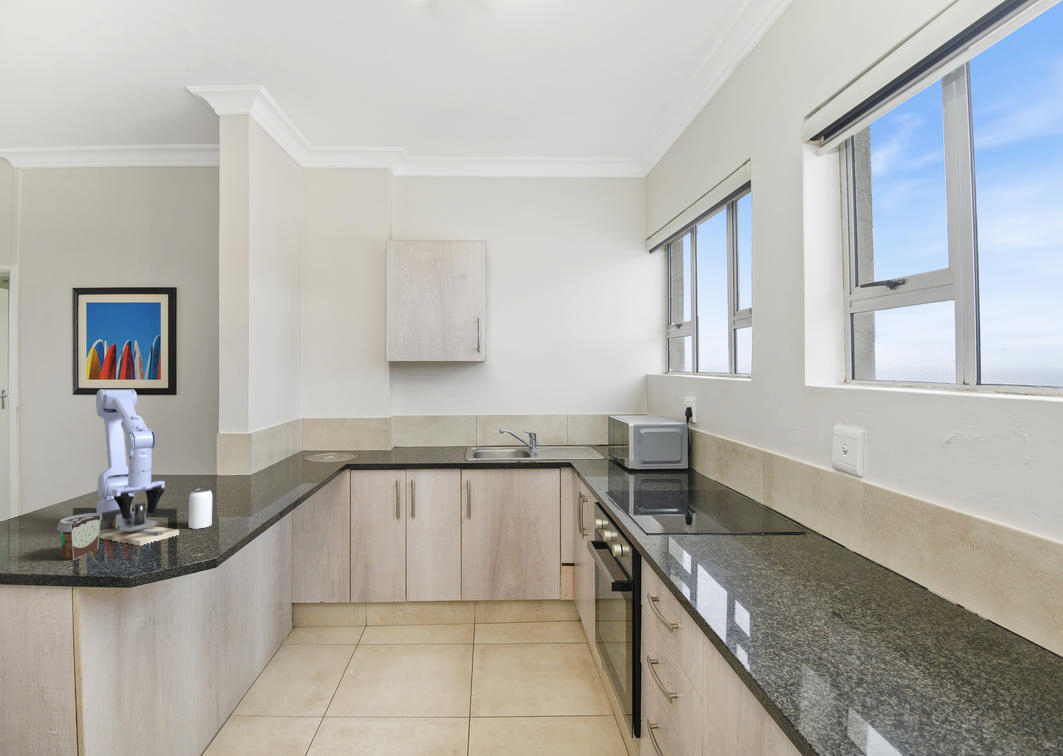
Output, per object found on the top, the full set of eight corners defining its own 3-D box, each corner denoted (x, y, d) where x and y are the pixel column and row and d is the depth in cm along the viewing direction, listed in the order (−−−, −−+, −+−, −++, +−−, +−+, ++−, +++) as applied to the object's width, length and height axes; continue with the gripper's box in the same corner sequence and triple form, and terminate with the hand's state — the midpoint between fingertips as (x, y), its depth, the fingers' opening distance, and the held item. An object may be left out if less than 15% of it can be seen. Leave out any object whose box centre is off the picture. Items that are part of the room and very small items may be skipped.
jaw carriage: (115, 529, 164) (116, 505, 164) (142, 522, 172) (142, 499, 172) (130, 531, 162) (131, 507, 162) (156, 524, 170) (157, 501, 170)
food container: (78, 547, 155) (79, 512, 155) (101, 547, 156) (102, 512, 156) (43, 562, 143) (44, 524, 143) (68, 562, 144) (69, 524, 144)
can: (200, 530, 175) (201, 492, 175) (183, 528, 176) (184, 491, 176) (216, 525, 181) (217, 488, 181) (199, 523, 182) (200, 487, 182)
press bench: (87, 536, 165) (88, 515, 165) (128, 527, 177) (128, 506, 177) (140, 545, 158) (140, 523, 158) (178, 534, 170) (179, 513, 170)
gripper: (124, 475, 159) (123, 522, 159) (172, 468, 172) (171, 511, 172) (107, 473, 161) (106, 520, 161) (156, 466, 175) (155, 509, 175)
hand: (139, 515), depth 167 cm, fingers open, 7 cm apart
